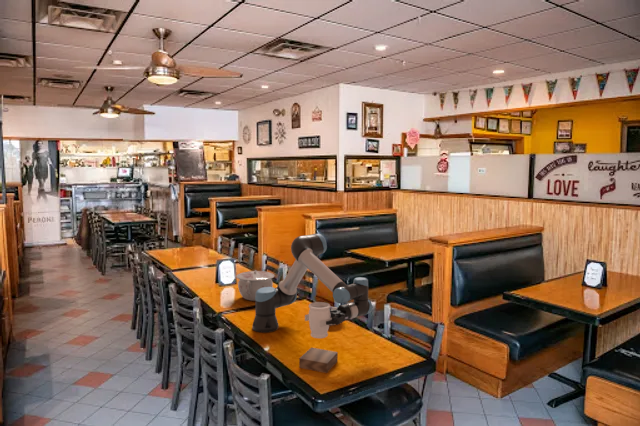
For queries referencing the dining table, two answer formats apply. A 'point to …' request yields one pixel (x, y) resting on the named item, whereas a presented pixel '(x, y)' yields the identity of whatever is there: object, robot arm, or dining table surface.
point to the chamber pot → (253, 283)
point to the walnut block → (318, 360)
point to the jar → (318, 319)
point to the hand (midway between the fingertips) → (312, 321)
